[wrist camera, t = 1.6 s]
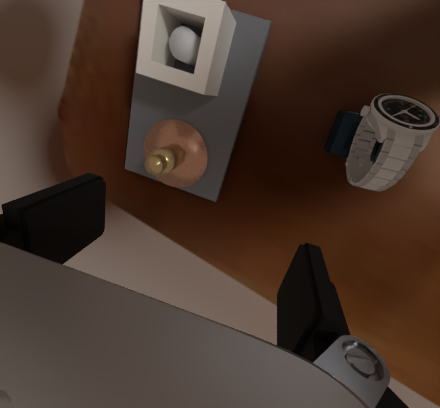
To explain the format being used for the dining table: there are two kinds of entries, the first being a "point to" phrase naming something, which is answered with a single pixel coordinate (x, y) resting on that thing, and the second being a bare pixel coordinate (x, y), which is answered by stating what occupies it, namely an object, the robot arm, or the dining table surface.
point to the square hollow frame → (208, 51)
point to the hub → (175, 153)
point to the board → (200, 100)
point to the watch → (382, 139)
